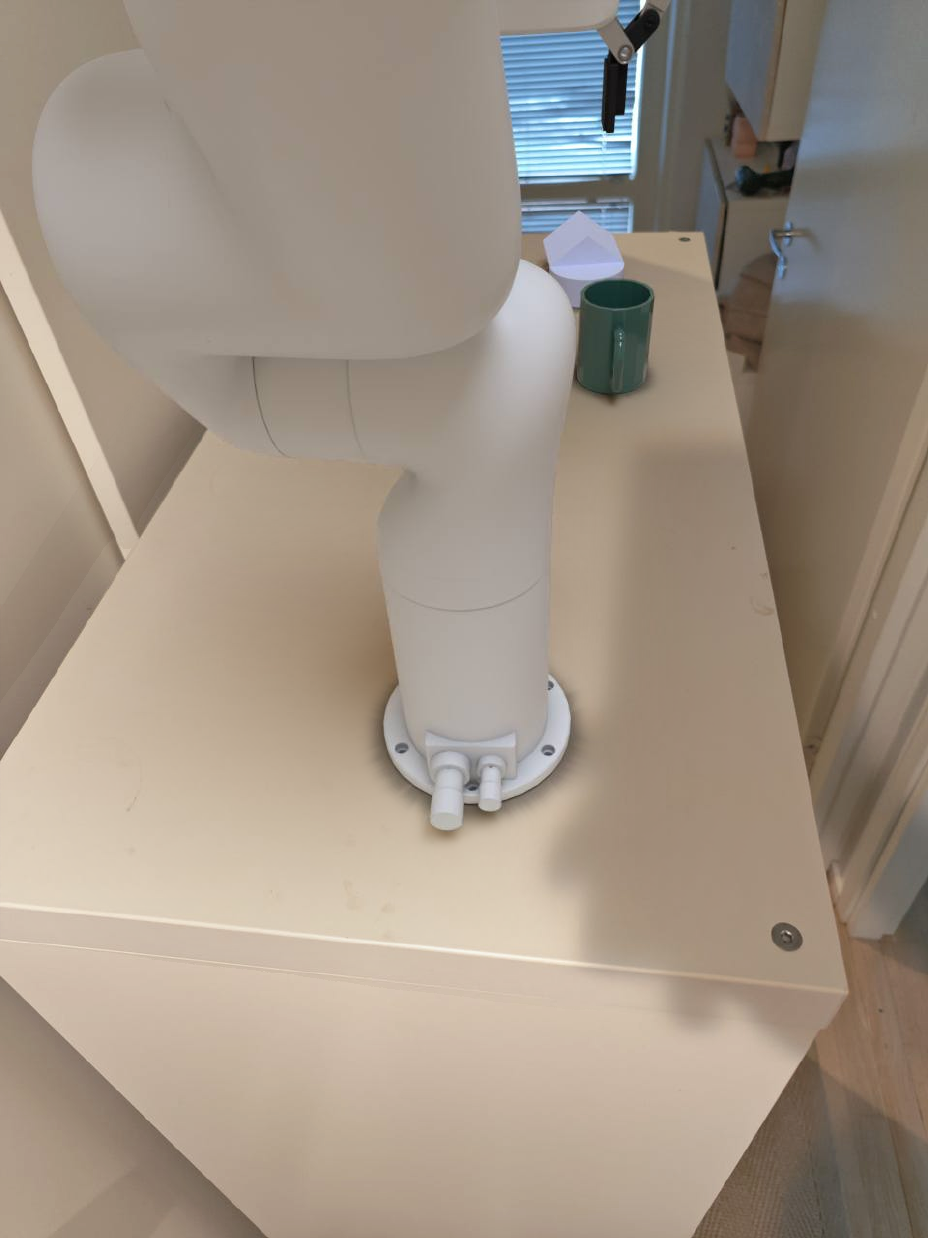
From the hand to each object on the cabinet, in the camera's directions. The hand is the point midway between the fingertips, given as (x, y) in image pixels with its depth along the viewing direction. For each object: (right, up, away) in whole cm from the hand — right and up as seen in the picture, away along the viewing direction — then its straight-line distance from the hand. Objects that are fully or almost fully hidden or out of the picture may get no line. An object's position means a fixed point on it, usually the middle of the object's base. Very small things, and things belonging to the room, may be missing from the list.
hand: (537, 130), depth 59 cm
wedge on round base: (+10, +8, +48) cm, 49 cm away
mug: (+10, -9, +30) cm, 33 cm away
